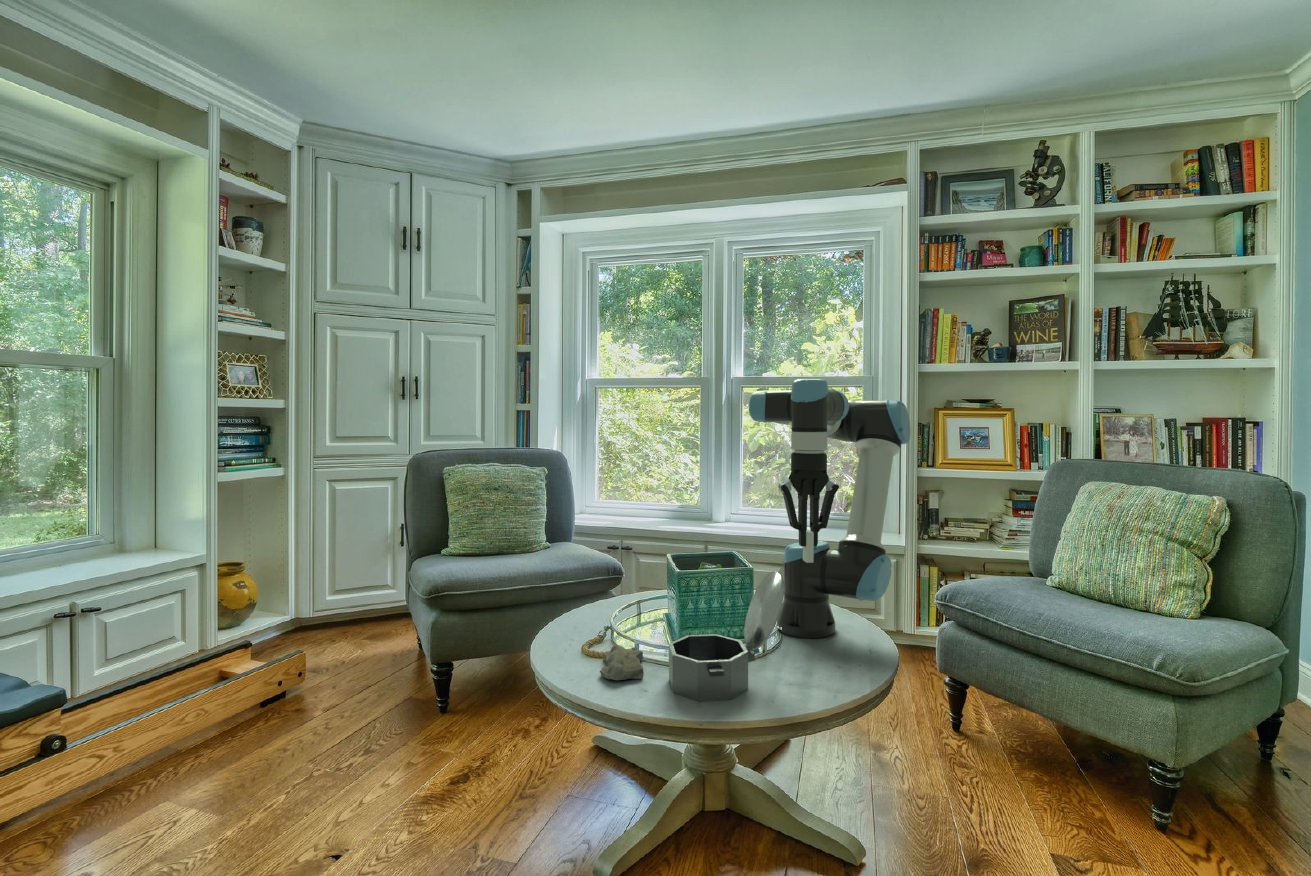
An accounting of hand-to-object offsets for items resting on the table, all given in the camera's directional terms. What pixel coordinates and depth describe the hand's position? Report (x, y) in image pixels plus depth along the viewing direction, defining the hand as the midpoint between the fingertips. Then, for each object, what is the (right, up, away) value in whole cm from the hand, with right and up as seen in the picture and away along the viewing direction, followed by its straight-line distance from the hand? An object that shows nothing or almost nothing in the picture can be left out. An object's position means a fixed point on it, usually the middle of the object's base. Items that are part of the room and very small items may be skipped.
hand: (808, 561), depth 145 cm
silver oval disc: (-10, -10, 0) cm, 14 cm away
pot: (-22, -26, -1) cm, 34 cm away
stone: (-40, -27, +8) cm, 49 cm away
